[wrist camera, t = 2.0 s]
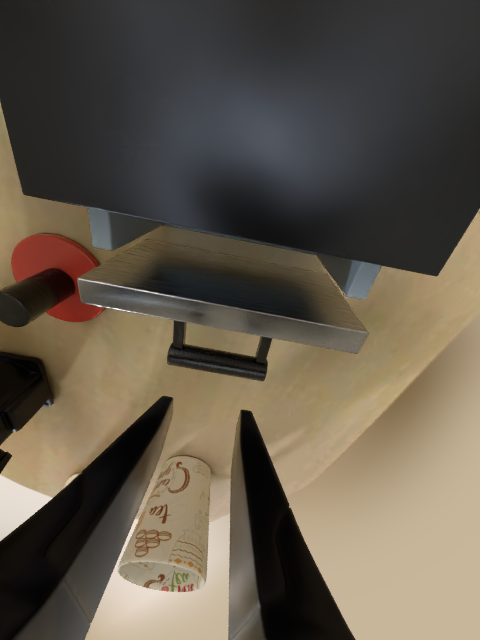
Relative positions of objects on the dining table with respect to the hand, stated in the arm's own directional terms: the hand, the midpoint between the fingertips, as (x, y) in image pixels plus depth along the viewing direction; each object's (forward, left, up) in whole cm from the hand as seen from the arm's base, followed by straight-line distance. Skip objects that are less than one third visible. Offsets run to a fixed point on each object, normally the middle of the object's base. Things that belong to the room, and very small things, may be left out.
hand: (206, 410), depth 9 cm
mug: (-1, -28, -11) cm, 30 cm away
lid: (-13, -2, -11) cm, 17 cm away
